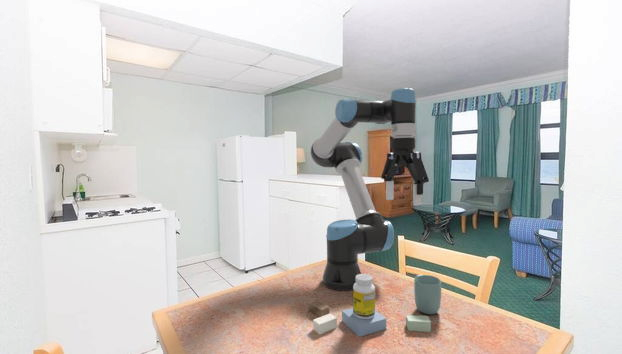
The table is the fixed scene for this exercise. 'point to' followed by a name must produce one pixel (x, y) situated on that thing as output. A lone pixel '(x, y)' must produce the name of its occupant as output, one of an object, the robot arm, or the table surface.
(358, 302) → the pill bottle
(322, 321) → the cream brick
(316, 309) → the walnut brick
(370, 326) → the slab
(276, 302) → the table surface
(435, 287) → the cup
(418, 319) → the sage brick
